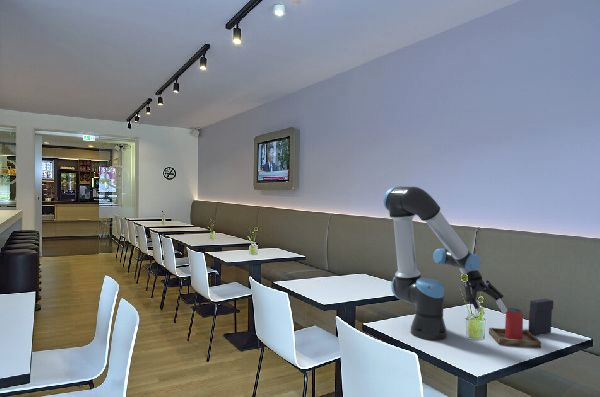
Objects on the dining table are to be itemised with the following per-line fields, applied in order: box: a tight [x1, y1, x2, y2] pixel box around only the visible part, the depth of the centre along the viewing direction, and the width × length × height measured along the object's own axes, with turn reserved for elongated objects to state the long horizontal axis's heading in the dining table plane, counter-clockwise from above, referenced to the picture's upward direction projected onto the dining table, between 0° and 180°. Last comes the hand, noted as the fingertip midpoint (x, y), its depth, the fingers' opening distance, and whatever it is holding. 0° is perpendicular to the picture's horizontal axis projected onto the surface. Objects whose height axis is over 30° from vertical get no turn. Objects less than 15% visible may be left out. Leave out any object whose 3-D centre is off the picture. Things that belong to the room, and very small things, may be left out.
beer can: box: [504, 307, 524, 340], centre depth 176 cm, size 7×7×12 cm
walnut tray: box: [488, 327, 542, 349], centre depth 176 cm, size 16×14×2 cm
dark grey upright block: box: [527, 298, 554, 337], centre depth 186 cm, size 11×4×15 cm, turn 115°
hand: (494, 313), depth 186 cm, fingers open, 13 cm apart
